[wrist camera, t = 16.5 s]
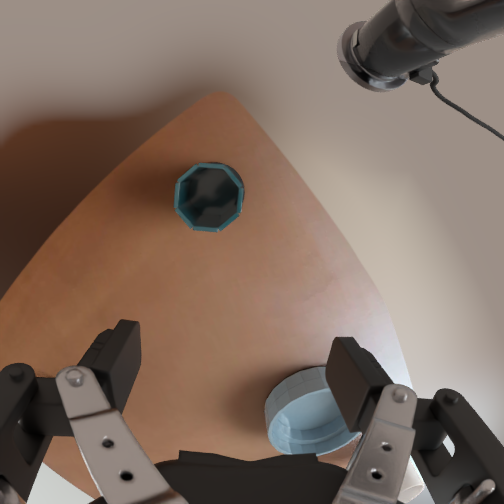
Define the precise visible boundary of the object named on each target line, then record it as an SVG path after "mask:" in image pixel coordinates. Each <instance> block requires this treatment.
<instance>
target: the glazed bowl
mask: <svg viewBox="0 0 504 504" xmlns="http://www.w3.org/2000/svg"><path fill="white" fill-rule="evenodd" d="M325 369H326V367H314V368H310V369H307V370H303V371H299V372H297V373H295V374H294V375H292V376H290V377H288V378H286V379H284V380H283V381H282V382H281V383H280V384H278V385H277V386H276V387H275V388H274V389H273V390H272V392H271V393H270V395H269V397H268V398H267V400H266V404H265V409H264V414H265V421H266V427H267V433H268V437H269V440H270V443H271V445H272V446H274V447H275V448H276V449H277V450H278V451H279V452H281V453H284V454H304V453H316V456H320V455H324V454H327V453H331V452H333V451H335V450H337V449H339V448H341V447H343V446H345V445H347V444H348V443H349V442H351V441H352V440H353V439H355V438H356V437H357V436H358V435H359V434H360V433H361V432H354V433H350V432H349V430H348V427H347V425H346V423H345V421H344V419H343V416H342V414H341V412H340V410H339V408H338V406H337V403H336V401H335V399H334V397H333V395H332V392H331V390H330V388H329V386H328V384H327V382H326V378H325Z"/></svg>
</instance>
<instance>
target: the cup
mask: <svg viewBox="0 0 504 504" xmlns="http://www.w3.org/2000/svg"><path fill="white" fill-rule="evenodd" d="M424 487H425V485H424V483H423V481H422V480H421V478H420V476H419V474H418V473H417V471H416V469H415V467H414V466H413V464H412V462H411V460H410V459H409V462H408V466H407V469H406V473H405V476H404V480H403V483H402V486H401V490H400V493H399V496H398V499H397V500H399V501H401V502H403V503H407V502H408V501H410V500H411V499H413V498H415V497H416V496H417V495H418V494H420V493H421V492H422V491H423V489H424Z"/></svg>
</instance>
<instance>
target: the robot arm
mask: <svg viewBox="0 0 504 504" xmlns="http://www.w3.org/2000/svg"><path fill="white" fill-rule="evenodd" d="M502 35H504V0H389V1H388V2H387V3H386V4H385V5H384V6H383V7H381V9H379V10H378V11H377V12H376V13H375V14H374V15H373V16H372V17H371V18H370V19H369V20H368V21H367V22H366V23H365V24H364V25H363V26H362V27H361V28H360V29H357V30H356V31H355V32H354V34H353V35H352V37H351V40H350V52H351V55H352V57H353V59H354V61H355V63H356V64H357V66H358V67H359V68H360V69H361V70H362V71H363V72H364V73H365V74H367V75H368V76H370V77H372V78H374V79H376V80H379V81H385V82H389V81H394V80H396V79H398V78H401V79H405V78H407V77H409V79H410V80H411V81H414V82H416V83H419V84H421V85H424V84H427V83H430V82H431V83H430V87H431V89H432V91H433V93H434V94H435V95H436V96H437V97H438V98H439V99H440V100H441V101H443V102H444V103H446V104H447V105H449V106H450V107H452V108H454V109H455V110H457V111H459V112H460V113H462V114H463V115H465V116H466V117H467V118H469V119H470V120H472V121H474V122H475V123H477V124H479V125H480V126H482V127H484V128H486V129H487V130H489V131H491V132H492V133H493V134H495V135H496V136H498V137H499V138H500V139H502V140H503V141H504V136H503V135H502V134H500V133H499V132H498V131H496V130H495V129H493V128H492V127H490V126H489V125H487V124H485V123H484V122H482V121H480V120H479V119H477V118H475V117H474V116H472V115H471V114H469V113H468V112H467V111H465V110H464V109H462V108H461V107H459V106H458V105H456V104H454V103H452V102H451V101H449V100H448V99H446V98H445V97H444V96H442V95H441V94H440V93H439V91H438V90H437V89H436V87H435V85H437V84H438V82H439V80H438V76H437V74H436V73H435V72H434V71H433V70H432V66H435V65H437V64H438V63H439V58H442V57H444V56H446V55H449V54H451V53H453V52H455V51H458V50H460V49H463V48H465V47H468V46H470V45H473V44H475V43H478V42H482V41H485V40H489V39H492V38H495V37H498V36H502ZM432 77H433V81H432ZM140 365H141V339H140V324H139V322H138V321H131V320H124V319H121V320H120V321H119V322H118V324H117V325H116V327H115V328H114V330H112V329H107V330H105V331H103V332H102V333H100V334H99V335H98V336H97V337H96V339H95V340H94V343H92V344H91V346H90V348H89V349H88V350H87V352H86V353H85V354H84V356H83V357H82V359H81V360H80V362H79V363H78V364H77V366H69V367H66V368H63V369H62V370H60V371H59V372H58V373H57V375H56V378H45V377H36V376H35V372H34V370H33V368H32V367H31V366H29V365H27V364H24V363H14V364H10V365H8V366H6V367H5V368H3V369H2V371H1V372H0V504H26V503H27V500H28V497H29V495H30V492H31V489H32V486H33V484H34V481H35V479H36V476H37V473H38V471H39V468H40V466H41V463H42V461H43V459H44V456H45V454H46V452H47V449H48V447H49V445H50V442H51V440H52V438H53V436H73V437H74V438H75V440H76V443H77V445H78V447H79V450H80V452H81V454H82V457H83V459H84V461H85V463H86V465H87V468H88V470H89V472H90V474H91V476H92V478H93V480H94V482H95V484H96V486H97V488H98V490H99V492H100V494H101V497H99V498H97V499H96V500H94V501H92V502H90V503H89V504H405V503H403V502H401V501H399V500H397V499H398V496H399V493H400V490H401V486H402V483H403V480H404V476H405V473H406V469H407V466H408V462H409V458H410V454H411V456H412V458H413V460H414V462H415V464H416V466H417V468H418V470H419V472H420V474H421V476H422V478H423V480H424V482H425V484H426V486H427V488H428V490H429V492H430V494H431V496H432V498H433V500H434V502H435V504H504V447H503V445H502V444H501V443H500V441H499V440H498V439H497V438H496V436H495V435H494V434H493V433H492V431H491V430H490V429H489V428H488V426H487V425H486V424H485V423H484V422H483V420H482V419H481V418H480V417H479V415H478V414H477V413H476V412H475V410H474V409H473V408H472V407H471V406H470V404H469V403H468V402H467V401H466V400H465V398H464V397H463V396H462V395H461V394H460V393H458V392H456V391H454V390H452V389H446V388H444V389H440V390H438V391H437V392H436V394H435V395H434V397H433V399H421V398H417V395H416V393H415V392H414V391H413V390H412V389H410V388H409V387H407V386H404V385H401V384H394V383H393V381H392V380H391V379H390V377H389V376H388V375H387V373H386V372H385V371H384V369H383V368H381V365H380V364H379V363H378V362H377V360H376V359H375V357H374V356H373V355H372V354H371V353H370V352H368V351H367V350H366V349H364V348H361V347H360V346H359V344H358V343H357V342H356V340H355V339H354V338H353V337H335V338H334V340H333V343H332V347H331V350H330V354H329V358H328V361H327V365H326V369H325V378H326V382H327V384H328V386H329V388H330V390H331V392H332V395H333V397H334V399H335V401H336V403H337V406H338V408H339V410H340V412H341V414H342V416H343V419H344V421H345V423H346V425H347V427H348V430H349V432H350V433H354V432H362V434H363V435H362V437H361V439H360V440H359V443H358V445H357V447H356V449H355V451H354V453H353V455H352V457H351V459H350V461H349V463H348V465H347V467H346V469H344V468H342V467H339V466H336V465H333V464H329V463H324V462H318V459H317V456H316V453H304V454H285V455H280V456H275V457H271V458H266V459H261V460H256V461H244V460H239V459H235V458H230V457H226V456H222V455H218V454H214V453H202V452H191V451H182V450H179V458H178V459H176V460H168V461H163V462H159V463H156V464H153V463H152V461H151V460H150V459H149V457H148V456H147V454H146V453H145V451H144V450H143V449H142V447H141V446H140V444H139V443H138V441H137V439H136V438H135V436H134V435H133V433H132V432H131V430H130V429H129V427H128V425H127V424H126V422H125V420H124V419H123V417H122V413H123V410H124V407H125V405H126V402H127V399H128V397H129V394H130V392H131V389H132V386H133V384H134V381H135V379H136V376H137V374H138V371H139V369H140ZM447 435H448V436H449V438H450V439H451V441H452V442H453V444H454V446H455V453H454V455H453V457H451V455H450V453H449V452H448V450H447V449H446V447H445V446H444V444H443V441H444V439H445V438H446V436H447Z"/></svg>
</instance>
